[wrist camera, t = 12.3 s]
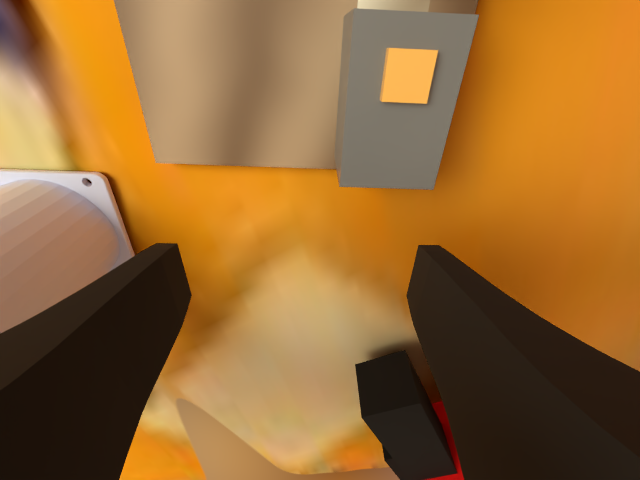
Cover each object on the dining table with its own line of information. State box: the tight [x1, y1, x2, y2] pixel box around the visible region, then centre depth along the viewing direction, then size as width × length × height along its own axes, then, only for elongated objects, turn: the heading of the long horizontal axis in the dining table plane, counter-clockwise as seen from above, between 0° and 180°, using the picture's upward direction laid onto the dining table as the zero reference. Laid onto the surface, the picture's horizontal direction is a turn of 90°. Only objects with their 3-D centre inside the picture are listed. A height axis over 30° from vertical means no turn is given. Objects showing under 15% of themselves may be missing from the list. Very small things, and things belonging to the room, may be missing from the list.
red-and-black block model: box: [355, 350, 464, 480], centre depth 28 cm, size 15×8×25 cm
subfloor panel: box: [114, 0, 478, 169], centre depth 14 cm, size 15×12×1 cm
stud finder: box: [334, 8, 479, 190], centre depth 13 cm, size 4×6×4 cm, turn 178°
